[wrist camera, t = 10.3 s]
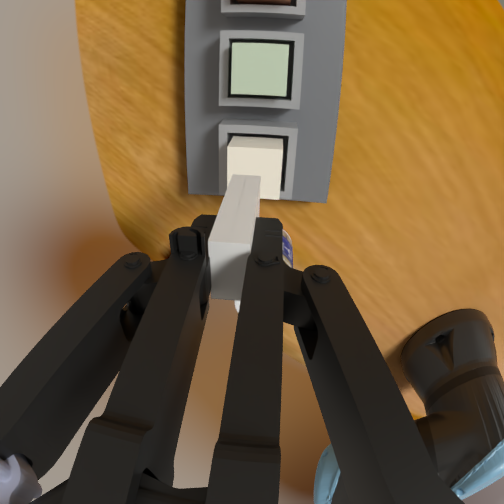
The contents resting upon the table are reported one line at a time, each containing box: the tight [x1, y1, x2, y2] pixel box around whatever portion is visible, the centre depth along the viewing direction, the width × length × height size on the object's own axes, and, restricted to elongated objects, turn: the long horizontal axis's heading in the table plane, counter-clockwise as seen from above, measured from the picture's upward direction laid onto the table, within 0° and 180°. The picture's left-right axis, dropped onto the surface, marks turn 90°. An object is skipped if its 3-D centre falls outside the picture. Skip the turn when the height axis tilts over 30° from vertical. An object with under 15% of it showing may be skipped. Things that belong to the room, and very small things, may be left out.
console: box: [185, 0, 347, 203], centre depth 21 cm, size 22×12×4 cm, turn 178°
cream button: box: [227, 136, 283, 200], centre depth 22 cm, size 4×4×3 cm
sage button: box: [231, 43, 289, 96], centre depth 19 cm, size 4×4×3 cm
